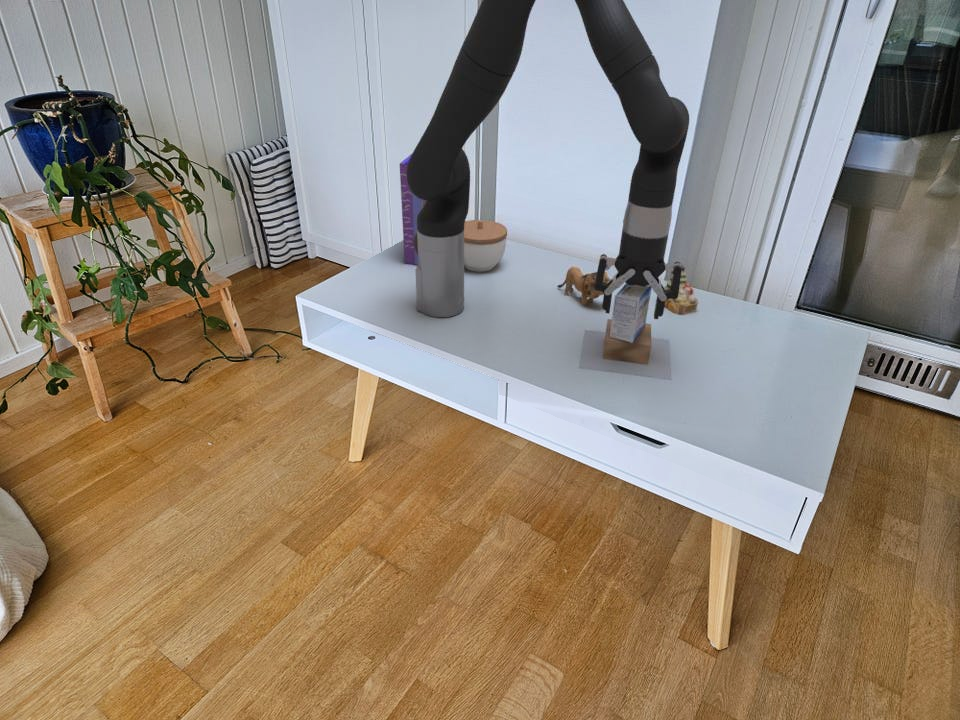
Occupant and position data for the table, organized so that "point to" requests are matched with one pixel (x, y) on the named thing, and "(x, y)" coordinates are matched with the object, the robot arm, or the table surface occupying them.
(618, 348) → the base brick
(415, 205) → the cereal box
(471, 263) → the lidded bowl
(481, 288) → the table surface
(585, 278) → the lion figurine
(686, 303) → the ornament
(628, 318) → the medicine box
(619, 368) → the plate
